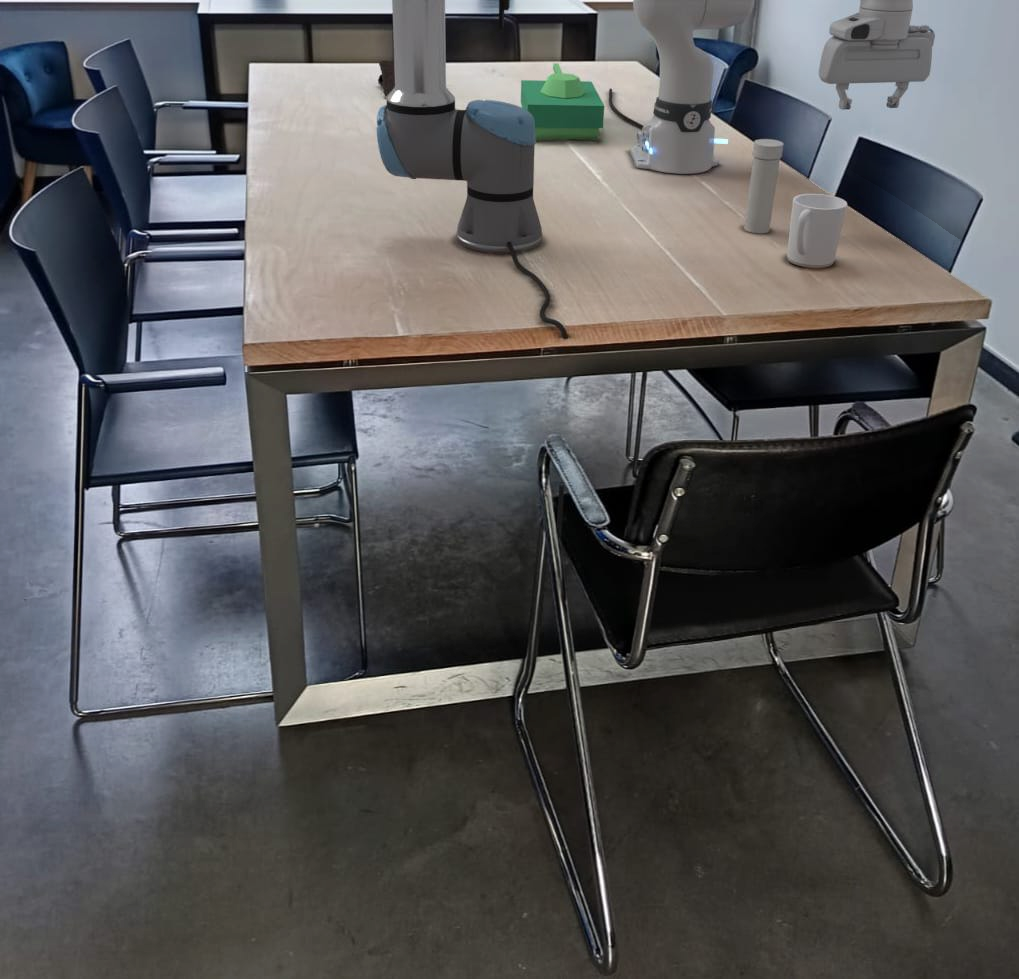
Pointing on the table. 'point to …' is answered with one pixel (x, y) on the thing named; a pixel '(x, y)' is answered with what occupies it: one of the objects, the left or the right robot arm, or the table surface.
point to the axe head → (387, 76)
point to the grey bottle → (761, 195)
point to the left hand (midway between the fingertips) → (468, 26)
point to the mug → (815, 229)
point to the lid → (768, 149)
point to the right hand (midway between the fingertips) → (868, 108)
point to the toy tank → (563, 107)
